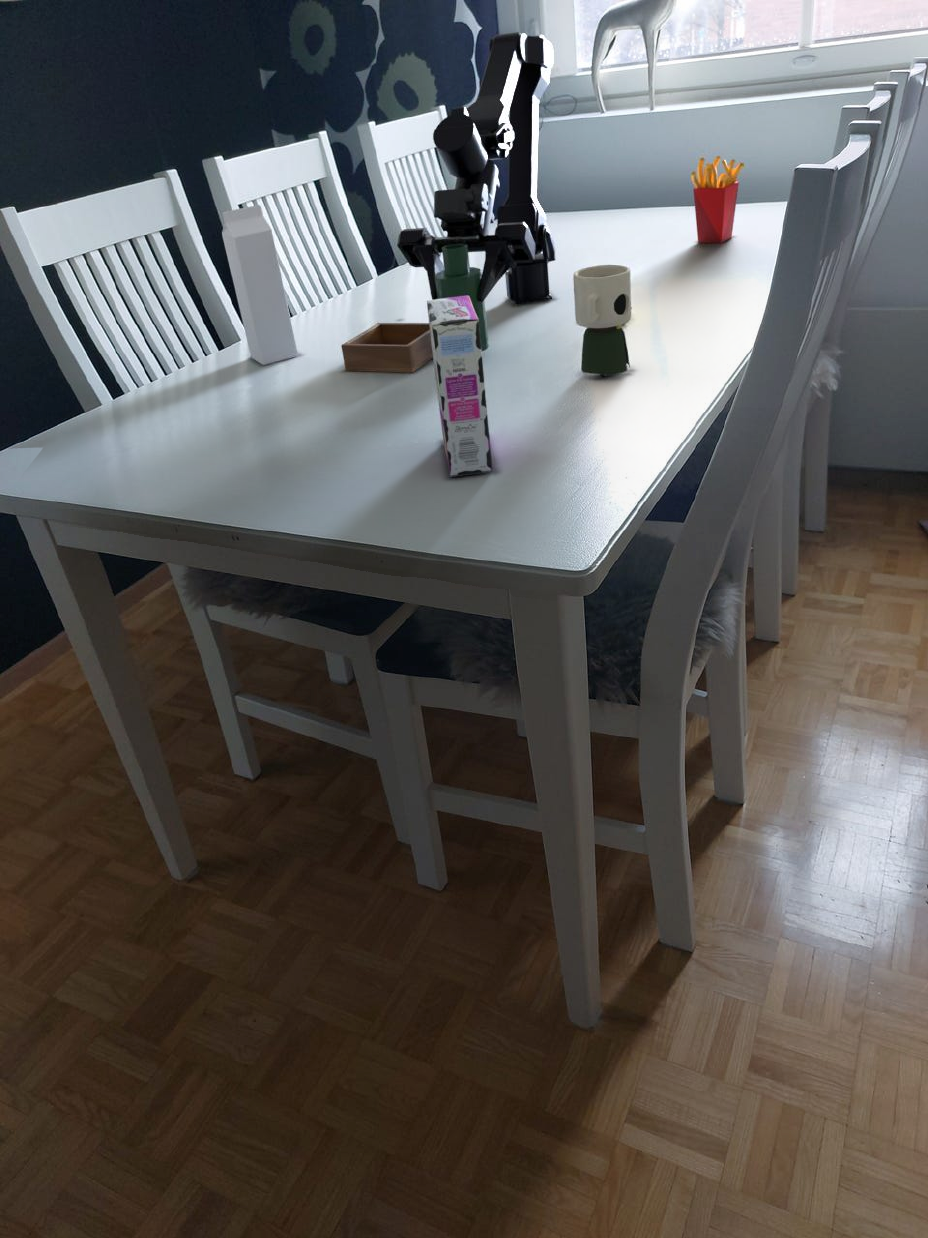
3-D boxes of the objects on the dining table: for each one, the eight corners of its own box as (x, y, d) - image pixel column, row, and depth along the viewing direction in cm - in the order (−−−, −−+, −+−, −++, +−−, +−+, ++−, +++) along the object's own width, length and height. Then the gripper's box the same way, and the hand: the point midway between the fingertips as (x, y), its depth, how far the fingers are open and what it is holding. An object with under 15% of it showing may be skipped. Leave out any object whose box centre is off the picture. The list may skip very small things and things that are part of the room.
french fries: (705, 235, 188) (707, 152, 180) (745, 235, 184) (749, 150, 176) (686, 245, 182) (687, 160, 174) (727, 246, 178) (730, 159, 170)
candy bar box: (496, 472, 101) (480, 318, 92) (450, 479, 101) (429, 325, 92) (485, 435, 111) (469, 292, 102) (443, 441, 111) (423, 298, 102)
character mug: (620, 387, 119) (617, 281, 112) (566, 386, 122) (560, 282, 115) (642, 360, 127) (641, 259, 120) (591, 359, 130) (587, 260, 123)
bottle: (484, 338, 138) (473, 238, 131) (492, 350, 133) (481, 246, 125) (441, 346, 138) (428, 245, 130) (448, 358, 132) (434, 254, 125)
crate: (382, 347, 147) (378, 322, 145) (446, 348, 143) (443, 322, 141) (345, 370, 139) (340, 344, 137) (412, 372, 134) (408, 346, 132)
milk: (298, 356, 149) (268, 206, 137) (262, 365, 146) (228, 213, 135) (285, 348, 153) (254, 202, 141) (250, 357, 151) (216, 209, 139)
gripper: (391, 167, 129) (372, 271, 126) (522, 155, 122) (505, 265, 120) (420, 216, 139) (403, 313, 136) (542, 208, 133) (527, 310, 130)
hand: (457, 300), depth 130 cm, fingers closed on bottle, 6 cm apart
